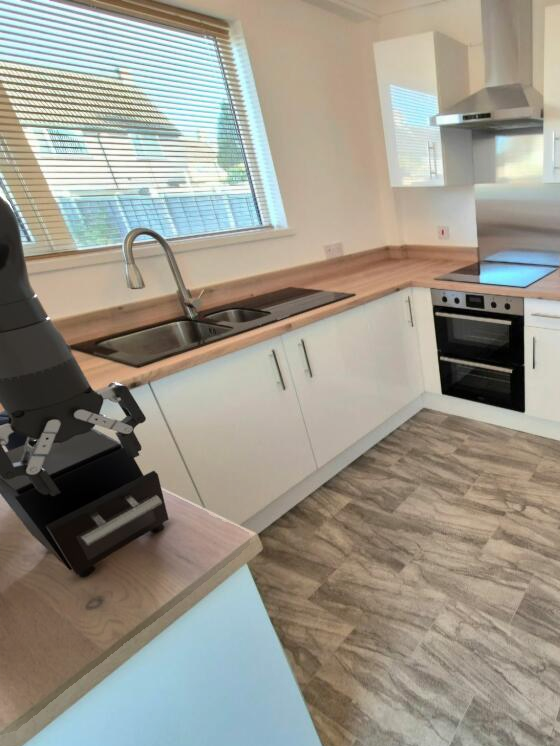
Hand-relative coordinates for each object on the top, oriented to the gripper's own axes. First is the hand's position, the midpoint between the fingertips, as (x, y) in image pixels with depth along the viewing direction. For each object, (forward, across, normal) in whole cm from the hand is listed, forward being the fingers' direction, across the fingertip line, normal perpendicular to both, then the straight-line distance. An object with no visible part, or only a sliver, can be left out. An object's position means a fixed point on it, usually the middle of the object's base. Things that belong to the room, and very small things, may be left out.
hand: (96, 473), depth 57 cm
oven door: (+19, 0, -8) cm, 20 cm away
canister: (+21, -4, -48) cm, 52 cm away
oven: (+20, 0, -18) cm, 28 cm away
